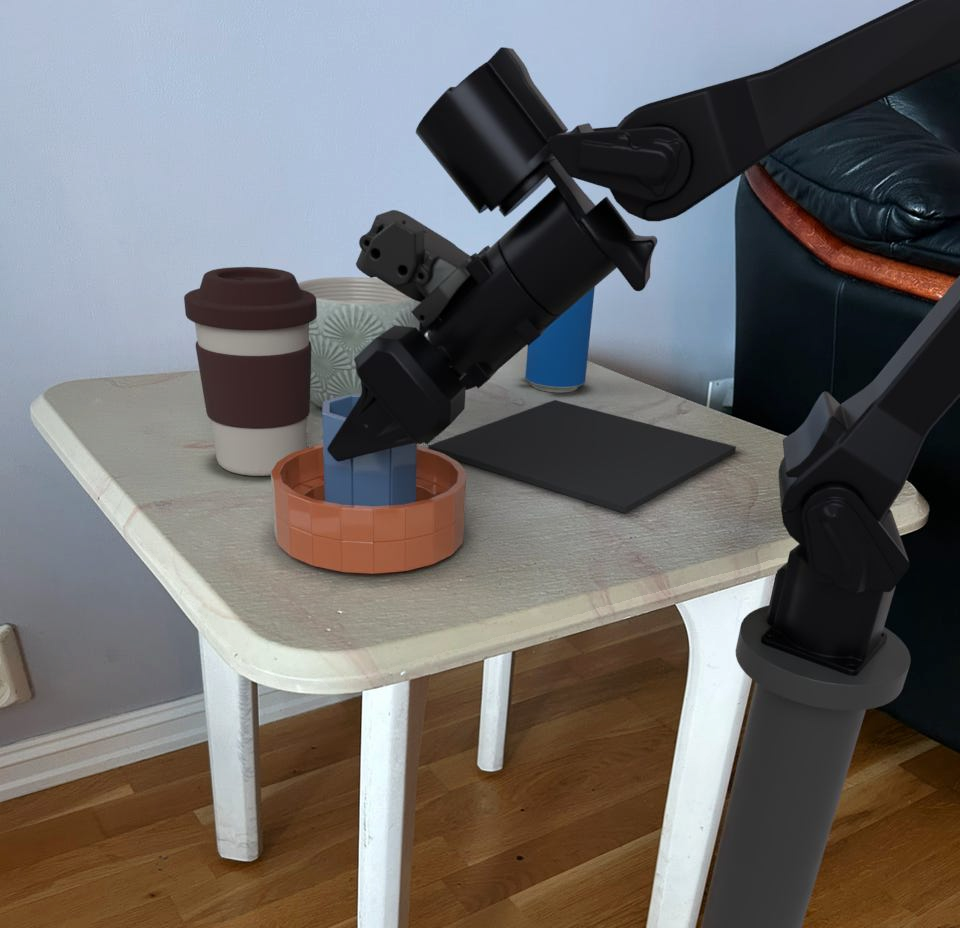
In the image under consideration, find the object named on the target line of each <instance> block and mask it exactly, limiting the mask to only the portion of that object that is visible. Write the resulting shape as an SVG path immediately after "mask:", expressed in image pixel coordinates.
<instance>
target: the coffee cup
mask: <svg viewBox="0 0 960 928" xmlns="http://www.w3.org/2000/svg"><path fill="white" fill-rule="evenodd" d="M298 283H299V282H298V280H297V278H296V276H295V275H294V274H293V273H292V272H290V271H287V270H284V269H278V268H270V267H263V266H262V267H260V266H258V267H257V266H235V267H234V266H232V267H231V266H230V267H222V268H216V269H211V270H208V271H207V272H205V273H204V274H203V275H202V279H201V282H200V285H199V288H196V289H193V290H190V291H188V292H187V293H185V294H184V295H183V301H184V312H185V316H186V318H187V319H188V320H189V321H191V322H193V323H194V327H195V332H196V339H197V340H196V342H195V352H196V358H197V364H198V369H199V375H200V382H201V388H202V394H203V400H204V407H205V412H206V415H207V418H209V420H210V426H211V432H212V439H213V444H214V451H215V457H216V460H217V464H219V466H220V467H221V468H223V469H224V470H226V471H228V472H230V473H233V474H236V475H241V476H251V477H252V476H253V477H269V476H270V477H271V471H272V470H273V468H274V466H275V465H276V463H277V462H278V461H279V460H281V459H283V458H284V457H286V456H288V455H289V454H291V453H293V452H296V451H299V450H302V449H306V448H307V432H308V431H307V430H308V429H307V427H308V417H309V415H310V410H311V401H310V384H311V350H312V346H311V342H310V341H309V322H312V321H313V320H314V319H316V317H317V303H316V297H315V296H314V295H313V294H312V293H310V292H308V291H305V290H302V289H300V287H299V285H298Z"/></svg>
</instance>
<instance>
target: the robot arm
mask: <svg viewBox="0 0 960 928" xmlns="http://www.w3.org/2000/svg"><path fill="white" fill-rule="evenodd" d="M958 65H960V0H910V1H909V2H906V3H904V4H903V5H900V6H899V7H896V8H894V9H892V10H890V11H887V12H886V13H884V14H882V15H880V16H878V17H875V18H873V19H871V20H869V21H868V22H865V23H863V24H861V25H859V26H857V27H855V28H853V29H851V30H848V31H847V32H844V33H842V34H840V35H837V36H836V37H835V38H831V39H830V40H828V41H825V42H824V43H822V44H820V45H818V46H815V47H813V48H811V49H810V50H807V51H805V52H803V53H800V54H799V55H797V56H795V57H793V58H791V59H788V60H787V61H785V62H783V63H780V64H779V65H776V66H774V67H771V68H769V69H766V70H762V71H759V72H756V73H752V74H748V75H745V76H741V77H738V78H734V79H731V80H726V81H723V82H720V83H716V84H712V85H709V86H705V87H702V88H698V89H694V90H692V91H687V92H685V93H680V94H678V95H673V96H670V97H666V98H663V99H660V100H656V101H652V102H649V103H646V104H643V105H641V106H638V107H637V108H635V109H634V110H632V111H631V112H629V113H628V114H627V115H626V116H624V118H623V119H622V120H620V122H619V123H618V124H617V125H616V126H605V127H595V128H593V127H592V125H591V124H590V123H589V122H587V123H582V124H578V125H576V126H575V127H574V128H573V129H572V130H570V131H569V129H568V127H567V126H566V125H565V123H564V122H563V121H562V119H561V118H560V116H559V115H558V114H557V113H556V111H555V109H554V108H553V107H552V106H551V104H550V103H549V101H548V100H547V99H546V98H545V96H544V95H543V94H542V92H541V91H540V89H539V88H538V86H536V84H535V83H534V81H533V79H532V77H531V74H530V73H529V69H528V68H527V66H526V64H525V63H524V62H523V60H522V59H521V58H520V56H519V55H518V53H517V52H516V51H515V50H514V48H510V47H499V49H498V50H497V51H496V52H495V53H494V54H493V55H492V56H491V57H490V58H489V59H488V60H487V61H486V62H484V63H483V64H481V65H480V66H478V67H476V69H475V70H473V71H472V72H470V73H469V74H468V75H467V76H466V77H465V78H463V79H462V80H461V81H460V82H459V83H458V84H456V86H450V87H448V88H447V89H446V90H445V91H443V93H442V94H441V96H439V97H438V98H437V100H436V101H435V102H434V103H433V104H432V106H431V107H430V108H429V109H428V110H427V112H426V113H425V114H424V115H423V117H422V119H421V120H420V122H419V123H418V125H417V126H416V129H415V134H416V135H417V137H418V138H419V139H420V140H421V142H422V143H423V144H424V145H425V147H426V149H428V151H429V152H430V153H431V155H432V156H433V157H434V158H435V159H436V161H437V162H438V163H439V165H440V166H441V167H442V168H443V170H444V171H445V172H446V173H447V175H448V176H449V178H450V179H451V180H452V181H453V182H454V184H455V185H456V186H457V187H458V189H459V190H460V191H461V192H462V194H463V195H464V196H465V198H466V199H467V200H468V201H469V203H470V204H471V206H473V207H474V209H475V211H477V213H478V214H479V215H480V214H482V213H483V212H485V211H486V210H489V212H490V213H492V212H494V210H496V209H497V208H498V211H499V212H500V213H501V215H502V216H503V218H505V217H507V216H509V215H510V214H511V213H512V212H514V211H515V210H516V209H517V208H518V207H519V206H520V205H522V204H523V203H524V202H525V201H526V200H527V199H528V198H529V197H531V195H533V194H534V193H535V192H536V191H537V190H538V189H539V188H540V187H541V186H542V185H543V184H544V183H545V182H546V181H547V180H548V179H549V180H550V182H551V183H552V184H553V185H554V187H553V188H552V189H551V190H550V191H549V192H547V194H546V195H545V196H543V198H541V199H540V200H539V201H538V202H537V203H536V204H535V205H534V206H533V207H532V208H531V209H530V210H528V211H527V212H526V214H524V216H522V218H520V219H519V220H518V221H517V222H516V223H514V225H513V226H512V227H510V228H509V230H507V231H506V232H505V233H504V234H503V235H502V236H501V237H500V238H499V239H498V240H497V241H496V242H494V244H492V246H490V245H489V244H488V245H486V246H485V247H483V248H482V249H481V250H480V251H479V252H478V253H477V252H475V253H473V254H471V255H470V254H469V253H468V252H467V253H466V252H465V251H464V250H462V249H461V248H459V247H458V246H457V245H456V244H454V242H452V241H451V240H450V239H449V240H448V239H447V238H445V237H444V236H443V235H441V234H439V233H438V232H436V231H434V230H433V229H431V228H430V227H428V226H427V225H425V224H423V223H422V222H420V221H418V220H416V219H415V218H414V217H412V216H411V215H409V214H407V213H404V212H402V211H400V210H397V209H391V210H388V211H385V212H382V213H380V214H377V215H375V218H374V220H373V222H372V224H371V226H370V229H369V231H367V233H365V234H363V235H362V236H360V238H359V240H358V245H359V248H360V249H361V250H360V253H359V255H358V258H357V260H356V262H355V266H356V268H357V269H358V270H359V271H360V272H361V273H363V274H364V275H365V276H367V277H368V278H377V279H380V280H382V281H383V282H385V283H386V284H388V285H390V286H391V287H393V288H395V289H396V290H398V291H399V292H401V293H403V294H404V295H406V296H408V297H409V298H411V299H413V300H416V301H419V302H421V303H420V304H419V305H418V306H417V307H416V308H415V309H413V310H412V311H411V312H412V314H413V315H414V316H415V317H416V318H417V320H418V321H419V322H420V324H419V330H418V329H417V328H415V327H406V326H397V325H394V326H393V327H391V328H390V329H388V330H387V331H385V332H384V333H382V334H381V335H379V336H378V337H376V338H375V339H374V340H373V341H372V342H371V343H370V344H369V345H368V346H367V347H366V348H365V349H364V350H363V351H362V352H361V353H359V354H358V355H357V356H356V357H355V358H354V360H355V364H356V373H357V375H358V377H359V378H360V380H361V387H362V393H361V396H360V397H359V399H358V401H357V402H356V404H355V406H354V407H353V409H352V410H351V412H350V413H349V415H348V416H347V418H346V420H345V421H344V423H343V424H342V426H341V427H340V429H339V430H338V432H337V433H336V435H335V437H334V438H333V440H332V441H331V443H330V444H329V446H328V448H327V450H328V452H329V453H330V455H331V456H332V457H333V458H334V459H335V460H336V461H338V462H340V461H344V460H347V459H351V458H355V457H359V456H363V455H367V454H370V453H374V452H378V451H382V450H386V449H390V448H395V447H399V446H404V445H408V444H413V443H417V445H422V444H426V445H428V444H429V443H431V442H432V441H433V440H434V439H435V438H437V437H438V436H440V434H441V433H443V432H444V431H445V430H446V429H447V428H448V427H450V426H451V425H452V424H453V422H454V421H455V420H456V419H457V418H458V417H459V416H460V415H461V414H462V412H463V411H464V410H465V409H466V408H465V407H466V391H468V390H471V389H474V388H477V389H480V388H481V387H482V386H483V385H485V384H486V383H487V382H488V381H489V380H491V379H492V378H493V376H494V375H495V374H496V373H497V372H498V370H499V369H501V368H502V367H504V365H505V364H507V363H508V362H510V360H511V359H512V358H514V356H516V355H517V354H518V353H519V352H520V351H522V350H523V349H524V348H525V347H526V346H527V347H528V346H529V345H530V344H531V343H532V342H533V341H535V340H536V339H537V338H538V337H539V336H540V335H541V334H542V333H543V332H544V331H545V330H546V329H547V327H548V326H549V325H551V324H552V323H553V322H554V321H555V320H556V319H558V318H559V317H560V316H561V315H562V314H563V313H565V312H566V311H567V310H568V309H569V308H570V307H572V306H573V305H574V304H575V303H576V302H577V301H579V300H580V299H581V298H582V297H583V296H584V295H586V294H587V293H588V292H589V291H590V290H591V289H593V288H594V287H595V288H596V286H597V285H599V284H600V283H601V282H602V281H603V280H604V279H606V278H607V277H608V276H609V275H610V274H611V273H613V272H614V271H615V270H616V269H618V271H619V273H620V274H621V275H622V276H623V278H624V279H625V280H626V282H627V283H628V284H629V286H630V287H631V288H632V290H634V291H635V292H642V291H643V290H644V289H645V288H646V286H647V285H648V282H649V280H650V279H651V263H652V258H653V257H652V256H653V253H654V250H655V248H656V246H657V244H658V238H657V237H656V235H639V234H636V233H635V232H634V231H633V229H632V228H631V227H630V226H629V224H628V223H627V221H626V219H625V218H624V217H623V216H622V215H621V213H620V212H619V211H618V209H617V207H615V205H614V204H613V203H612V201H611V200H610V199H609V197H608V196H605V197H603V198H602V199H601V200H600V201H599V202H598V203H597V204H595V203H594V202H593V200H592V199H590V198H589V197H590V196H589V195H587V194H586V193H585V192H584V190H583V189H582V188H581V187H580V185H579V184H578V183H577V182H576V180H580V181H583V182H586V183H589V184H593V185H595V186H598V187H603V188H605V189H608V190H609V191H610V193H611V195H612V196H613V199H614V200H615V202H616V203H617V204H618V205H619V206H620V207H621V208H622V209H623V210H624V211H625V212H627V214H629V215H632V216H634V217H636V218H639V219H641V220H642V221H643V220H644V221H646V222H663V221H666V220H670V219H674V218H677V217H679V216H681V215H682V214H684V213H686V212H688V211H689V210H691V209H692V208H694V207H695V206H696V205H698V204H700V203H701V202H702V201H704V200H705V199H708V198H709V197H710V196H711V195H713V194H714V193H717V192H718V191H719V190H721V189H722V188H724V187H725V186H727V185H728V184H730V183H731V182H733V181H734V180H735V179H737V178H738V177H740V176H741V175H743V174H744V173H745V172H747V171H749V169H751V168H752V167H754V166H755V165H757V164H758V163H759V162H761V161H762V160H763V159H765V158H766V157H768V156H769V155H771V154H772V153H774V152H775V151H777V150H779V149H780V148H781V147H783V146H784V145H786V144H787V143H789V142H790V141H792V140H794V139H797V138H799V137H801V136H803V135H806V134H807V133H810V132H812V131H814V130H817V129H819V128H821V127H824V126H826V125H828V124H830V123H832V122H834V121H836V120H838V119H841V118H843V117H845V116H848V115H850V114H852V113H854V112H856V111H859V110H861V109H863V108H865V107H868V106H870V105H872V104H874V103H876V102H878V101H881V100H883V99H885V98H888V97H889V96H892V95H895V94H896V93H899V92H900V91H903V90H905V89H907V88H909V87H911V86H913V85H916V84H918V83H921V82H923V81H925V80H927V79H930V78H932V77H934V76H936V75H938V74H940V73H943V72H945V71H948V70H949V69H951V68H954V67H956V66H958ZM575 179H576V180H575ZM959 398H960V275H959V276H958V277H957V278H956V279H955V280H954V282H952V284H951V285H950V286H949V288H948V289H947V290H946V291H945V293H944V294H943V295H942V296H941V298H940V299H939V300H938V301H937V303H936V304H935V305H934V306H933V307H932V308H931V309H930V310H929V312H928V313H927V314H926V316H925V317H924V318H923V320H921V322H920V323H919V324H918V326H917V327H916V328H915V329H914V331H913V332H912V333H911V334H910V336H908V338H907V339H906V341H904V343H903V344H902V345H901V347H900V348H899V349H898V350H897V351H896V353H895V354H894V355H893V356H892V357H891V359H890V360H889V361H888V362H887V363H886V364H885V366H884V367H883V368H882V370H881V371H880V372H879V374H877V376H876V377H875V378H874V379H873V380H872V381H870V383H869V384H868V385H866V386H865V387H864V388H863V389H862V390H859V391H858V392H857V393H856V394H854V395H852V396H850V397H849V398H848V399H847V400H845V401H844V402H842V403H841V404H840V403H839V402H838V401H837V400H836V399H835V398H834V396H832V395H831V394H830V393H829V392H828V391H823V392H822V393H821V394H820V395H819V397H818V399H817V400H816V401H815V402H814V404H813V407H812V408H811V411H810V412H809V413H808V416H807V417H806V419H805V420H804V422H803V423H802V424H801V425H800V426H799V427H798V428H797V429H796V430H795V431H794V432H792V433H790V434H789V435H787V436H785V437H784V438H783V439H782V448H783V458H782V459H781V461H780V465H779V467H778V488H779V489H778V490H779V500H780V511H781V512H780V513H781V519H782V524H783V526H784V528H785V529H786V531H787V533H788V535H789V537H791V538H792V539H793V540H794V541H795V542H797V543H798V545H796V546H795V547H793V548H792V549H791V550H790V551H789V554H788V558H787V561H786V562H785V563H784V564H783V565H782V566H781V567H779V568H778V569H777V570H776V574H775V578H774V583H773V588H772V592H771V597H770V602H769V610H768V614H767V619H766V621H767V623H768V625H771V626H772V627H770V628H769V629H768V630H767V631H766V632H765V633H764V634H763V635H762V638H761V643H763V644H764V645H767V646H769V647H772V648H775V649H778V650H780V651H783V652H786V653H789V654H791V655H794V656H797V657H800V658H802V659H805V660H808V661H811V662H813V663H816V664H819V665H822V666H825V667H827V668H830V669H833V670H836V671H838V672H841V673H844V674H847V675H850V676H856V675H858V674H859V673H860V672H861V671H862V669H863V668H864V667H865V666H866V665H867V664H868V662H869V661H870V660H871V659H872V658H873V657H874V655H875V654H876V653H877V652H878V651H879V650H880V648H881V647H882V646H883V645H884V644H885V643H886V640H887V637H888V635H887V634H886V633H884V632H883V628H884V627H885V625H886V621H887V617H888V614H889V611H890V607H891V604H892V600H893V597H894V594H895V590H896V588H897V585H898V584H899V582H900V581H901V580H902V578H903V577H904V575H905V574H906V573H907V571H908V570H909V569H910V567H911V565H910V561H909V558H908V555H907V551H906V549H905V546H904V543H903V540H902V537H901V534H900V531H899V529H898V525H897V523H896V520H895V517H894V514H893V510H892V509H891V508H892V506H893V504H894V503H895V501H896V500H897V498H898V497H899V495H900V493H901V492H902V490H903V488H904V486H905V484H906V482H907V480H908V477H909V476H910V473H911V471H912V468H913V466H914V464H915V462H916V460H917V457H918V455H919V453H920V450H921V449H922V447H923V444H924V443H925V440H926V438H927V436H928V434H929V433H930V431H931V430H932V429H933V428H934V426H935V425H937V423H938V422H939V421H940V419H941V418H943V416H944V415H945V414H946V413H947V412H948V411H949V409H951V408H952V406H953V405H954V404H955V403H956V402H957V400H958V399H959Z"/></svg>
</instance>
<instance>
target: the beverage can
mask: <svg viewBox="0 0 960 928" xmlns="http://www.w3.org/2000/svg"><path fill="white" fill-rule="evenodd" d="M595 290H596V286H595V287H594V288H593V289H591V290H590V291H589V292H588V293H587V294H586V295H584V296H583V297H582V298H581V299H580V300H579V301H577V302H576V303H575V304H574V305H573V306H572V307H570V308H569V309H568V310H567V311H566V312H565V313H563V314H562V315H561V316H560V317H559V318H558V319H556V320H555V321H554V322H553V323H552V324H551V325H549V326H548V327H547V329H546V330H545V331H544V332H543V333H542V334H541V335H540V336H539V337H538V338H537V339H536V340H535V341H533V342H532V343H531V344H530V345H529V346H528V345H527V350H526V361H525V362H526V364H525V376H524V377H525V380H526V381H527V382H529V383H530V384H531V386H532V388H534V389H536V390H539V391H543V392H548V393H557V394H560V393H563V394H564V393H572V392H575V391H576V390H577V389H578V388H579V387H580V386H583V385H584V384H585V382H586V378H587V377H586V376H587V367H588V358H589V357H588V356H589V349H590V338H591V328H592V319H593V308H594V299H595V298H594V297H595Z"/></svg>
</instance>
